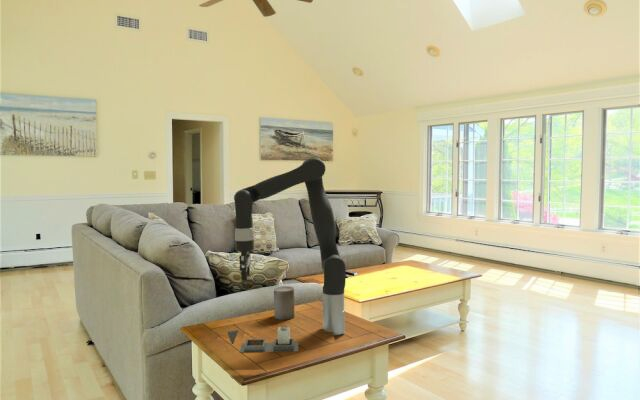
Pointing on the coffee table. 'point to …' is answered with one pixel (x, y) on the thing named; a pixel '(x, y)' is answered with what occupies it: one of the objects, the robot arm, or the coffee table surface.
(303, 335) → the coffee table surface
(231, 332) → the smartphone
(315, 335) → the coffee table surface
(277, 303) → the pillar candle
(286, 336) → the metal block with knob
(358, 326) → the coffee table surface
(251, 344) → the block holder
